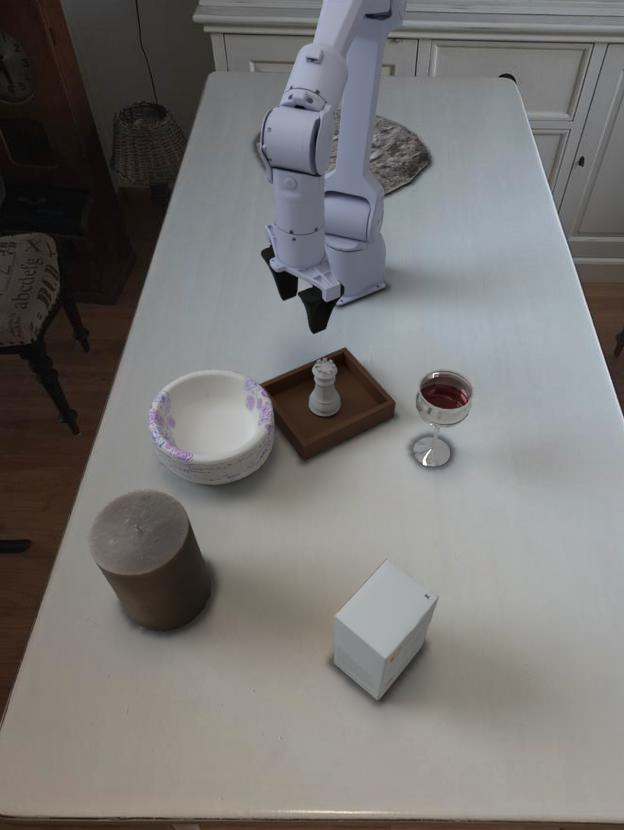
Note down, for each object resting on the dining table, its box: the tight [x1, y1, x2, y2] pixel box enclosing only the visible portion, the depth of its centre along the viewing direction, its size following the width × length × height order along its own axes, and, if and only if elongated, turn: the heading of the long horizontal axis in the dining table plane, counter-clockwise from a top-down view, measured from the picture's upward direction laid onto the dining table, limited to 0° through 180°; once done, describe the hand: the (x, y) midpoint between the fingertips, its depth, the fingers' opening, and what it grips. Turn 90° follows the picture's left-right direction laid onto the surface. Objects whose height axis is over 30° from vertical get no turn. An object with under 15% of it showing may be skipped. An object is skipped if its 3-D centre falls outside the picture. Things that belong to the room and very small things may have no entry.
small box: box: [333, 558, 440, 701], centre depth 63 cm, size 8×6×13 cm
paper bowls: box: [147, 368, 276, 486], centre depth 80 cm, size 15×15×8 cm
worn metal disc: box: [254, 109, 430, 195], centre depth 127 cm, size 33×35×1 cm
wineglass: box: [412, 369, 475, 467], centre depth 79 cm, size 7×7×12 cm
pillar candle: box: [85, 488, 212, 632], centre depth 65 cm, size 10×10×15 cm
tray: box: [258, 346, 397, 461], centre depth 87 cm, size 15×13×3 cm
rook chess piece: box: [309, 358, 341, 417], centre depth 84 cm, size 4×4×8 cm
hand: (303, 313), depth 84 cm, fingers open, 7 cm apart
